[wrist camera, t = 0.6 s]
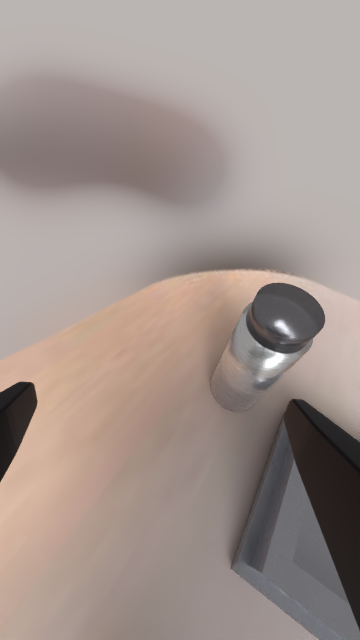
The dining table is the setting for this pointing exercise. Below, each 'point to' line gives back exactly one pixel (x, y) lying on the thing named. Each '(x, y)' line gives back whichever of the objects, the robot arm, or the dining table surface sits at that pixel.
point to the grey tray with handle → (292, 551)
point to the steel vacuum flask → (266, 344)
